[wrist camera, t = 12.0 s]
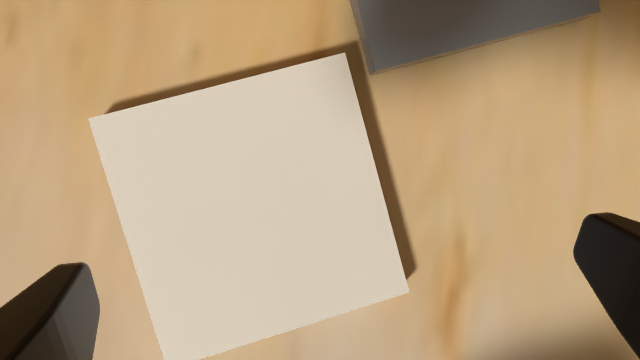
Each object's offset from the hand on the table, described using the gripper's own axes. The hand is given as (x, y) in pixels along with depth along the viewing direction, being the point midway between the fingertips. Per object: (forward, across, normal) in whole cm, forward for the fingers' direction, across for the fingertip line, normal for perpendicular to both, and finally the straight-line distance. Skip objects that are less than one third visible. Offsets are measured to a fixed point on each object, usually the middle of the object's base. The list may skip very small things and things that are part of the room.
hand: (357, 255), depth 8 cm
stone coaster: (+10, +1, +5) cm, 11 cm away
